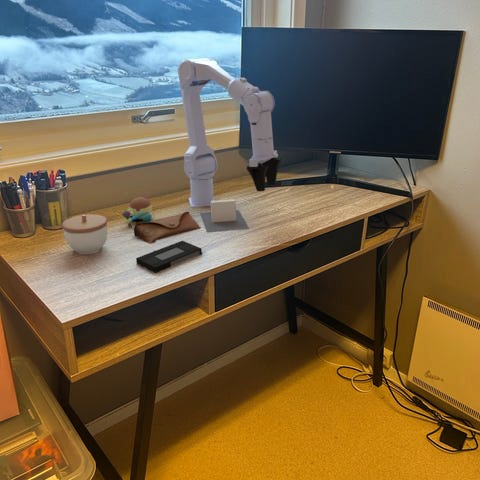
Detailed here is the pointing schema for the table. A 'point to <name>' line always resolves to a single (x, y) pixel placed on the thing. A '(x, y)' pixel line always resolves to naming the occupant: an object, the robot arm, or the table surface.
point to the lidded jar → (86, 233)
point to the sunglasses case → (165, 227)
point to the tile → (223, 210)
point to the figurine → (138, 210)
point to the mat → (223, 223)
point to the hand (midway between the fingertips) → (266, 187)
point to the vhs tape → (168, 256)
